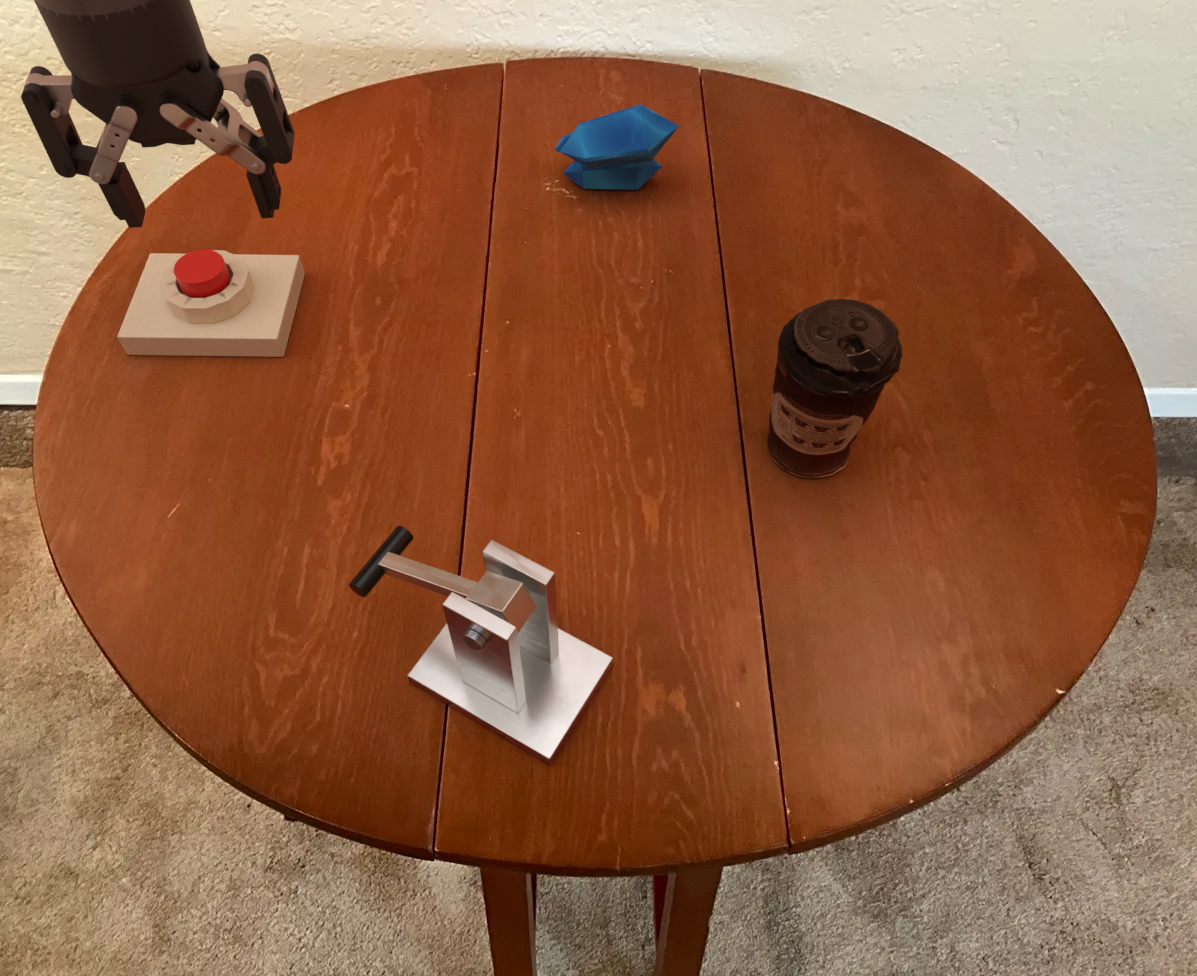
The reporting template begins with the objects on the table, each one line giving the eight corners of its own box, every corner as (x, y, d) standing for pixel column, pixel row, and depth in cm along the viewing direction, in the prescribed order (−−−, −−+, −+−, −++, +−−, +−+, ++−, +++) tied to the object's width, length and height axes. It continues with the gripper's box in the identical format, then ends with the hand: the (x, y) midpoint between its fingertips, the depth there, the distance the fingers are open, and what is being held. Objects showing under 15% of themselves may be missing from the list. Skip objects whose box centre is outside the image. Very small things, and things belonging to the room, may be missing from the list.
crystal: (543, 98, 90) (670, 69, 88) (565, 173, 97) (684, 148, 95) (543, 147, 85) (677, 118, 84) (567, 223, 92) (691, 197, 91)
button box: (127, 355, 80) (107, 321, 77) (158, 271, 86) (142, 236, 82) (283, 357, 80) (271, 323, 77) (305, 273, 86) (294, 238, 83)
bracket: (409, 682, 64) (377, 597, 54) (477, 591, 68) (459, 496, 58) (550, 766, 61) (543, 691, 51) (613, 664, 65) (618, 578, 55)
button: (175, 298, 79) (167, 282, 77) (187, 264, 81) (180, 248, 80) (224, 299, 79) (217, 283, 77) (235, 265, 81) (229, 249, 80)
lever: (358, 599, 61) (341, 576, 60) (405, 541, 64) (390, 518, 62) (503, 655, 55) (488, 631, 53) (549, 589, 57) (536, 563, 56)
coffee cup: (850, 508, 72) (896, 395, 62) (742, 478, 74) (769, 363, 63) (870, 422, 77) (916, 303, 66) (768, 395, 78) (797, 275, 68)
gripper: (246, -72, 53) (315, 172, 67) (-21, -60, 52) (103, 185, 66) (232, 2, 49) (309, 246, 63) (-58, 17, 48) (83, 261, 62)
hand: (203, 214), depth 64 cm, fingers open, 8 cm apart
